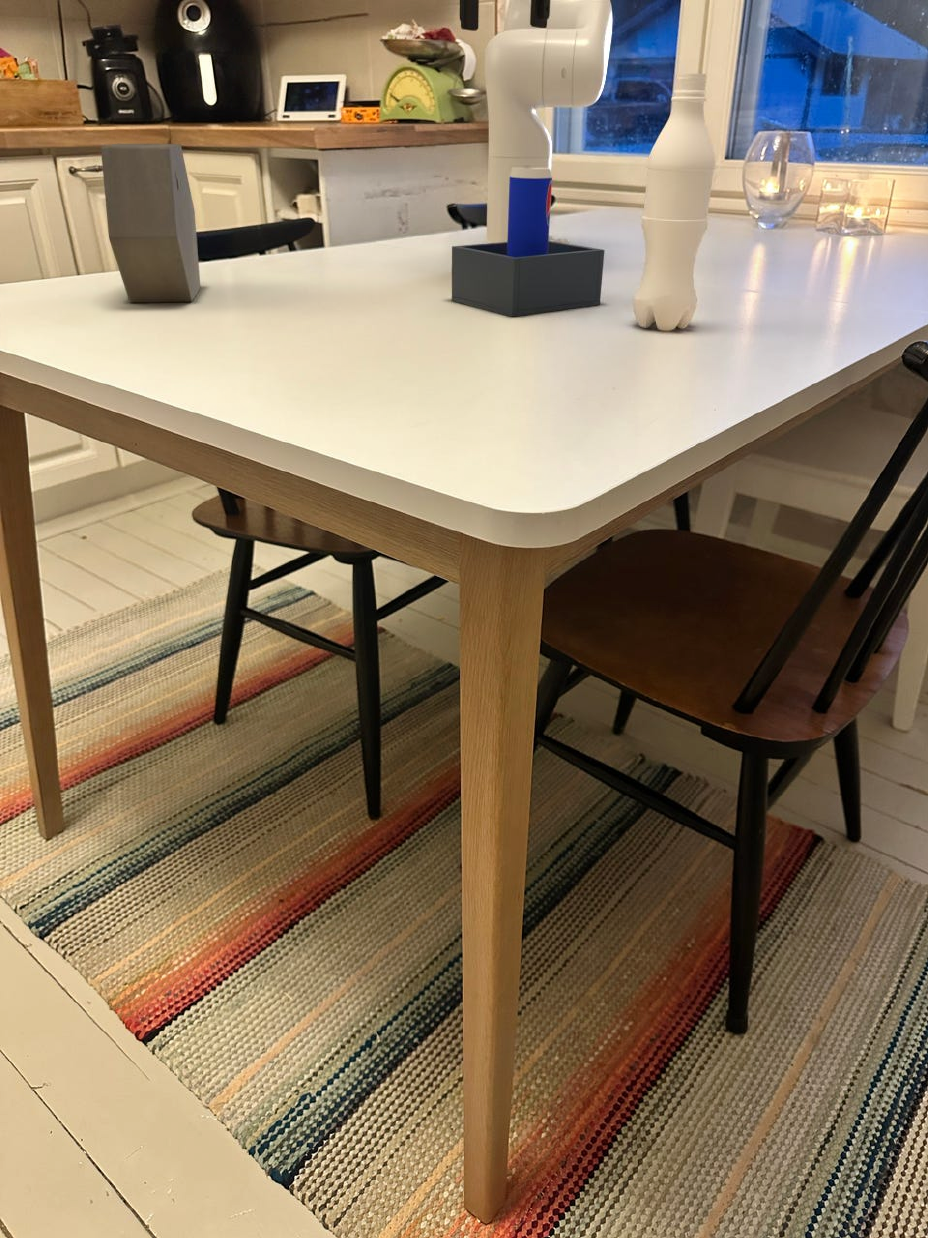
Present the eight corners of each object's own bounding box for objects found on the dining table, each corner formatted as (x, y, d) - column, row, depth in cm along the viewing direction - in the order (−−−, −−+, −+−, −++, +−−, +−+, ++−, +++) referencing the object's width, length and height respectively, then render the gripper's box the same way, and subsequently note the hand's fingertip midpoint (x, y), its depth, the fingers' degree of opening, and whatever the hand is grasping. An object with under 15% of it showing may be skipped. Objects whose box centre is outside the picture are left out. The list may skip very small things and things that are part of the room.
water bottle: (687, 320, 106) (719, 75, 94) (699, 333, 100) (735, 73, 87) (626, 319, 106) (651, 74, 94) (635, 332, 100) (662, 72, 88)
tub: (536, 290, 123) (539, 238, 120) (600, 304, 114) (604, 249, 111) (451, 300, 115) (451, 246, 112) (512, 316, 107) (514, 258, 103)
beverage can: (550, 300, 113) (558, 168, 105) (511, 301, 112) (516, 168, 104) (538, 293, 117) (545, 166, 110) (501, 294, 116) (505, 166, 109)
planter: (145, 244, 124) (105, 100, 105) (201, 243, 125) (171, 101, 107) (139, 334, 116) (95, 196, 98) (199, 333, 117) (167, 196, 99)
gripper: (592, -156, 99) (580, 28, 107) (460, -138, 106) (459, 32, 115) (563, -172, 93) (552, 23, 102) (426, -152, 101) (427, 28, 109)
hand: (503, 28), depth 108 cm, fingers open, 9 cm apart
